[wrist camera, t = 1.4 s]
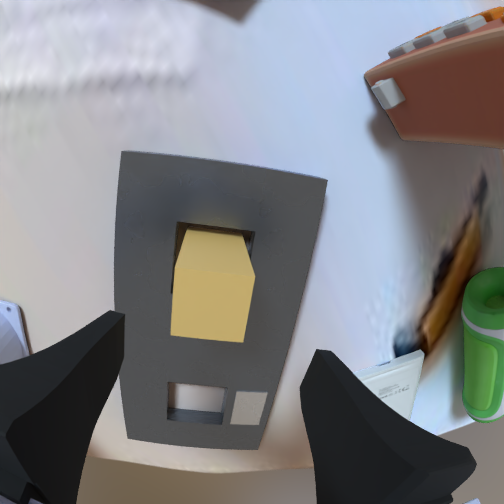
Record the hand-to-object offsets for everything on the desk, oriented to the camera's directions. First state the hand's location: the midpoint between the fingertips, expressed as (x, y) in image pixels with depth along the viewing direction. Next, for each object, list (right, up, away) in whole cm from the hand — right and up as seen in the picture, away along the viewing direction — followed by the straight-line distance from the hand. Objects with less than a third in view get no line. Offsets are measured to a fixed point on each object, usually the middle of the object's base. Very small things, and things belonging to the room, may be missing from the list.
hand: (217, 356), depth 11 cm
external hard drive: (+14, -12, +17) cm, 25 cm away
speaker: (+25, -5, +16) cm, 30 cm away
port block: (-2, -2, +11) cm, 11 cm away
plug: (-1, +4, +9) cm, 10 cm away
